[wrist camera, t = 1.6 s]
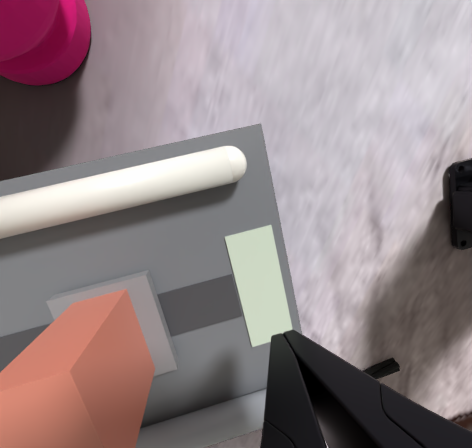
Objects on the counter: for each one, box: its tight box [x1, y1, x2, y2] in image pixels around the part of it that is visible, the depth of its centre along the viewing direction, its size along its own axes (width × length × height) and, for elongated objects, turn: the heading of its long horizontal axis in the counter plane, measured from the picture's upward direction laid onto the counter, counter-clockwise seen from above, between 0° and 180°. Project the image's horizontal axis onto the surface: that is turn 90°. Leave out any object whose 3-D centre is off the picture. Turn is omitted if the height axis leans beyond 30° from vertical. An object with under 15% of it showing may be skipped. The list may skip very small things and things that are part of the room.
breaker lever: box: [0, 270, 179, 448], centre depth 9 cm, size 4×5×5 cm
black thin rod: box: [363, 358, 400, 379], centre depth 19 cm, size 12×1×1 cm, turn 109°
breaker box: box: [0, 124, 302, 448], centre depth 13 cm, size 18×16×6 cm
